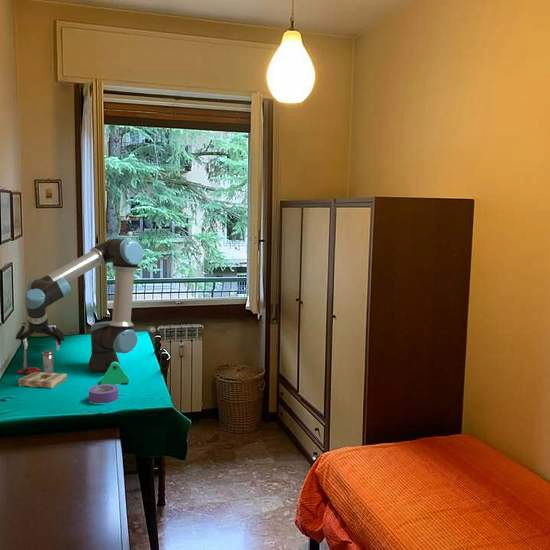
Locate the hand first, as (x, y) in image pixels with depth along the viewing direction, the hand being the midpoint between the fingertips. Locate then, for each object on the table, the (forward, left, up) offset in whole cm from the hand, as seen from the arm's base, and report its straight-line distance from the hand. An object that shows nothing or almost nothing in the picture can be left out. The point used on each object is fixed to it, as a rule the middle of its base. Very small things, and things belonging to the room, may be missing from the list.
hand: (42, 347), depth 247 cm
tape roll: (-39, +17, -16) cm, 46 cm away
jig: (-2, +3, -15) cm, 16 cm away
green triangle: (-33, -4, -16) cm, 37 cm away
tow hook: (+15, -11, -16) cm, 24 cm away
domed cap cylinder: (+3, -9, -15) cm, 18 cm away
